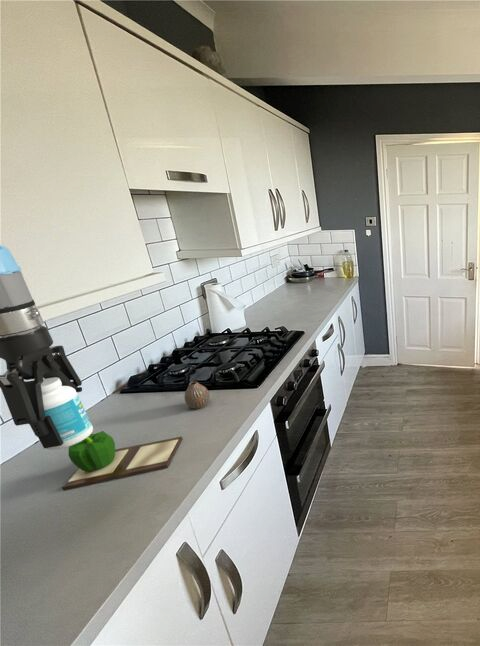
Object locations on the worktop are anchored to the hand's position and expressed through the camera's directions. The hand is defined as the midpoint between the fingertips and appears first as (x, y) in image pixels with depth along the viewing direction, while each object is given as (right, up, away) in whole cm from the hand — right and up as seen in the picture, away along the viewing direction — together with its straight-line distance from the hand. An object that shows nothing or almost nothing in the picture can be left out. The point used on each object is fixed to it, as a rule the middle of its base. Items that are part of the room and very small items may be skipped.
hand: (67, 432), depth 72 cm
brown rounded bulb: (-3, -6, +46) cm, 46 cm away
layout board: (-6, -15, +21) cm, 27 cm away
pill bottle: (0, -2, +1) cm, 2 cm away
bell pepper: (-12, -15, +19) cm, 27 cm away
